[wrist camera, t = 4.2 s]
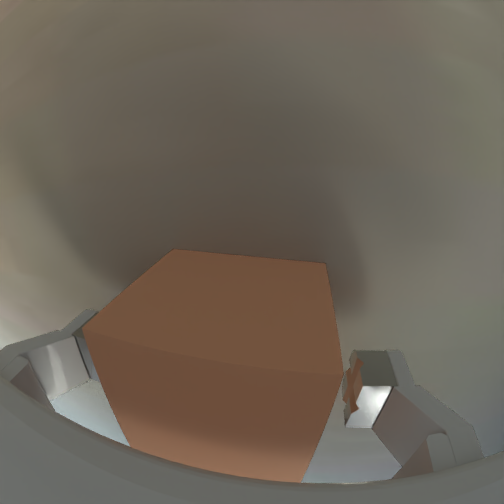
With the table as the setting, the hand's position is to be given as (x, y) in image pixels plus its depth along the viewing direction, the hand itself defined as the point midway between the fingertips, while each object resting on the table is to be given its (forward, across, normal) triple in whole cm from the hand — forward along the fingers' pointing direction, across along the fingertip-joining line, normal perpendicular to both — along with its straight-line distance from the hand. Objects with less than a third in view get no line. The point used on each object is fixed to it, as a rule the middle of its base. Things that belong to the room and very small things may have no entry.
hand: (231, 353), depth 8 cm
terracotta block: (+2, 0, 0) cm, 2 cm away
